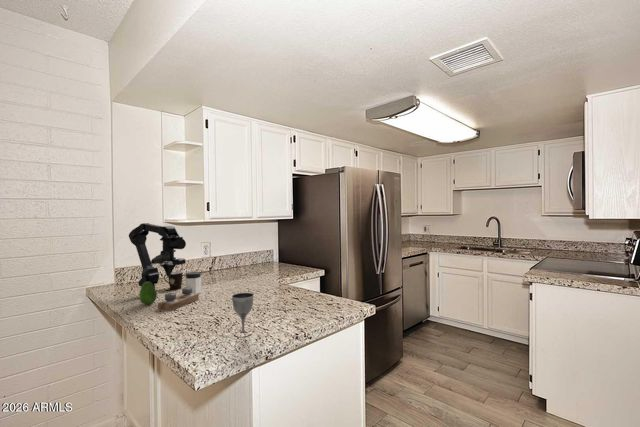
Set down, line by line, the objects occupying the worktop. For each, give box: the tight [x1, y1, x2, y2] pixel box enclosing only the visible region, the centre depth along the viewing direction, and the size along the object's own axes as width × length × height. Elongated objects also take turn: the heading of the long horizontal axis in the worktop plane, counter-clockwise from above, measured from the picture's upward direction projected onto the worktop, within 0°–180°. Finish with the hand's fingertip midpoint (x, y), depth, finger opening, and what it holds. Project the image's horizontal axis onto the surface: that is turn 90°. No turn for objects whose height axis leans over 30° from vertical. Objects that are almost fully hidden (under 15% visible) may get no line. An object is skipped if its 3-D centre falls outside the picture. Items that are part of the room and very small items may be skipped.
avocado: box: [139, 281, 158, 306], centre depth 159 cm, size 8×8×12 cm
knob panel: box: [157, 293, 199, 312], centre depth 159 cm, size 8×20×3 cm, turn 164°
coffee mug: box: [163, 271, 184, 291], centre depth 194 cm, size 12×9×10 cm
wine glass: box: [231, 292, 254, 333], centre depth 118 cm, size 8×8×15 cm
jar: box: [184, 271, 202, 295], centre depth 181 cm, size 9×8×12 cm
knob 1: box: [164, 292, 177, 301], centre depth 153 cm, size 5×5×3 cm
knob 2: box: [181, 287, 192, 295], centre depth 165 cm, size 5×5×3 cm
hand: (168, 276), depth 170 cm, fingers closed
